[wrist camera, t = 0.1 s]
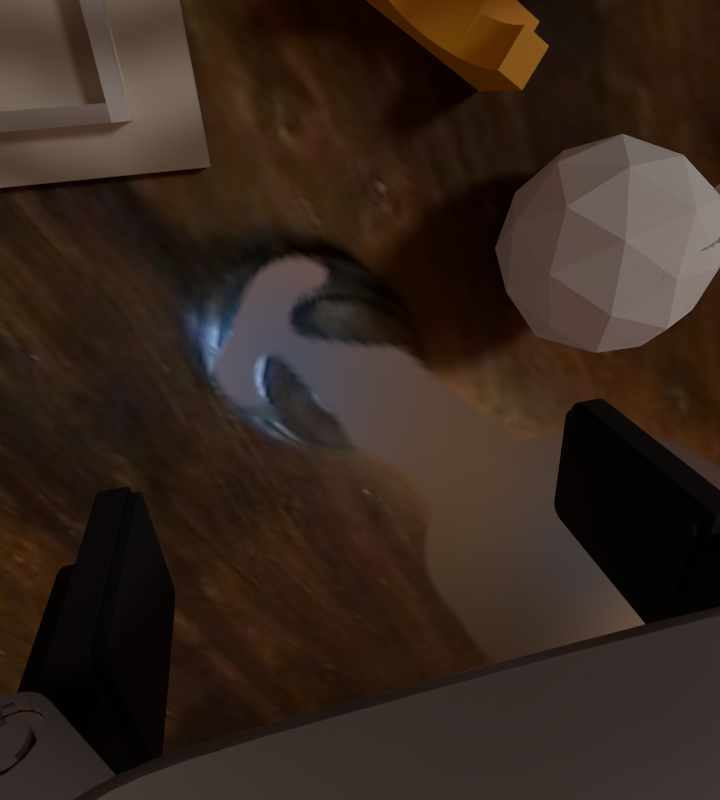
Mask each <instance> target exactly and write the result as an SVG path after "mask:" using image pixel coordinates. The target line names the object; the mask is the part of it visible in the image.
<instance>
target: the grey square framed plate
mask: <svg viewBox="0 0 720 800" xmlns="http://www.w3.org/2000/svg"><path fill="white" fill-rule="evenodd" d="M206 167H211V164H210V159H209V154H208V148H207V143H206V138H205V133H204V127H203V122H202V117H201V111H200V106H199V101H198V95H197V90H196V85H195V80H194V74H193V69H192V64H191V58H190V53H189V48H188V42H187V37H186V32H185V26H184V21H183V16H182V11H181V5H180V0H0V188H4V187H14V186H24V185H34V184H45V183H55V182H65V181H75V180H85V179H95V178H105V177H115V176H125V175H135V174H145V173H155V172H166V171H176V170H186V169H196V168H206Z"/></svg>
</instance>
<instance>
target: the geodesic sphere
mask: <svg viewBox="0 0 720 800" xmlns="http://www.w3.org/2000/svg"><path fill="white" fill-rule="evenodd" d="M495 250H496V254H497V258H498V262H499V266H500V270H501V274H502V277H503V281H504V285H505V289H506V292H507V294H508V295H509V297H510V298H511V300H512V301H513V303H514V304H515V306H516V307H517V309H518V310H519V312H520V313H521V315H522V316H523V317H524V319H525V320H526V322H527V323H528V325H529V326H530V328H531V329H532V331H533V332H534V334H535V335H536V336H537V337H541V338H544V339H548V340H552V341H555V342H559V343H563V344H566V345H570V346H574V347H577V348H581V349H584V350H588V351H592V352H595V353H597V352H604V351H611V350H618V349H624V348H631V347H638V346H641V345H643V344H645V343H646V342H648V341H649V340H651V339H652V338H654V337H655V336H657V335H659V334H660V333H662V332H663V331H665V330H666V329H668V328H669V327H670V326H672V325H673V324H674V323H676V322H677V321H678V320H680V319H681V318H682V317H683V316H685V315H686V314H687V313H689V312H690V311H691V310H692V309H693V308H694V306H695V305H696V303H697V302H698V300H699V299H700V297H701V295H702V294H703V292H704V291H705V289H706V288H707V286H708V285H709V283H710V281H711V280H712V278H713V277H714V275H715V274H716V272H717V271H718V269H719V264H720V184H719V185H718V186H717V187H716V188H715V189H714V188H713V187H712V186H711V185H710V184H709V183H708V181H707V180H706V179H705V178H704V177H703V176H702V175H701V174H700V173H699V172H698V171H697V169H696V168H695V167H694V166H693V165H692V164H691V163H690V162H689V161H688V160H687V158H686V157H685V156H684V155H682V154H679V153H676V152H673V151H670V150H667V149H664V148H661V147H659V146H656V145H653V144H650V143H647V142H644V141H641V140H638V139H636V138H633V137H630V136H627V135H624V134H621V135H617V136H613V137H610V138H606V139H603V140H599V141H596V142H592V143H589V144H585V145H582V146H578V147H575V148H571V149H568V150H564V151H562V152H561V153H560V154H559V155H558V156H557V157H555V158H554V159H553V160H552V161H551V162H550V163H549V164H547V165H546V166H545V167H544V168H543V169H542V170H540V171H539V172H538V173H537V174H536V175H535V176H534V177H532V178H531V179H530V180H529V181H528V182H527V183H525V184H524V185H523V186H522V187H521V188H520V189H519V190H517V191H516V192H515V194H514V197H513V200H512V203H511V205H510V208H509V211H508V214H507V216H506V219H505V222H504V225H503V227H502V230H501V233H500V236H499V238H498V241H497V244H496V247H495Z"/></svg>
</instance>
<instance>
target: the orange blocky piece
mask: <svg viewBox="0 0 720 800" xmlns="http://www.w3.org/2000/svg"><path fill="white" fill-rule="evenodd" d="M366 1H367V2H368V3H369V4H371V5H372V6H373V7H374V8H376V9H377V10H378V11H379V12H381V13H382V14H383V15H384V16H386V17H387V18H388V19H389V20H391V21H392V22H393V23H394V24H396V25H397V26H398V27H399V28H401V29H402V30H403V31H404V32H405V33H407V34H408V35H409V36H410V37H412V38H413V39H414V40H415V41H417V42H418V43H419V44H420V45H422V46H423V47H424V48H425V49H427V50H428V51H429V52H430V53H432V54H433V55H434V56H435V57H437V58H438V59H439V60H440V61H442V62H443V63H444V64H445V65H447V66H448V67H449V68H450V69H452V70H453V71H454V72H455V73H457V74H458V75H459V76H460V77H462V78H463V79H464V80H465V81H467V82H468V83H469V84H470V85H472V86H473V87H474V88H475V89H477V90H478V91H511V90H523V88H524V86H525V85H526V83H527V81H528V80H529V78H530V76H531V75H532V73H533V72H534V70H535V68H536V67H537V65H538V63H539V62H540V60H541V58H542V57H543V55H544V54H545V52H546V50H547V49H548V47H549V46H548V45H547V44H546V43H545V42H544V41H543V40H542V39H541V38H540V37H539V36H538V35H536V34H535V33H534V30H535V28H536V27H537V25H538V23H539V21H538V20H537V19H536V18H535V17H534V16H533V15H532V14H531V13H530V12H529V11H528V10H527V9H526V8H524V7H523V6H522V5H521V4H520V3H519V2H518V1H517V0H366Z"/></svg>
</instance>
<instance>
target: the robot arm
mask: <svg viewBox="0 0 720 800" xmlns="http://www.w3.org/2000/svg"><path fill="white" fill-rule="evenodd" d="M554 502H555V503H554V505H555V510H556V513H557V515H558V517H559V518H560V520H561V521H562V522H563V523H564V524H565V526H566V527H567V528H568V529H569V531H570V532H571V533H572V534H573V535H574V537H575V538H576V539H577V540H578V541H579V543H580V544H581V545H582V547H583V548H584V549H585V550H586V551H587V553H588V554H589V555H590V556H591V557H592V559H593V560H594V561H595V563H596V564H597V565H598V566H599V567H600V568H601V570H602V571H603V572H604V573H605V575H606V576H607V577H608V578H609V580H610V581H611V582H612V583H613V584H614V586H615V587H616V588H617V590H618V591H619V592H620V593H621V594H622V596H623V597H624V598H625V599H626V600H627V602H628V603H629V604H630V605H631V607H632V608H633V609H634V610H635V612H636V613H637V614H638V615H639V616H640V618H641V619H642V620H643V621H644V623H645V625H642V626H638V627H634V628H630V629H626V630H622V631H618V632H614V633H610V634H607V635H603V636H599V637H595V638H591V639H587V640H583V641H580V642H575V643H571V644H567V645H564V646H560V647H556V648H552V649H549V650H544V651H541V652H537V653H533V654H529V655H525V656H521V657H518V658H514V659H510V660H506V661H502V662H498V663H495V664H491V665H487V666H483V667H479V668H476V669H472V670H468V671H464V672H460V673H457V674H453V675H449V676H445V677H441V678H438V679H434V680H430V681H426V682H423V683H419V684H415V685H411V686H408V687H404V688H400V689H396V690H393V691H389V692H385V693H381V694H378V695H374V696H370V697H367V698H363V699H359V700H355V701H352V702H348V703H344V704H340V705H337V706H333V707H329V708H326V709H322V710H318V711H314V712H311V713H307V714H303V715H300V716H296V717H292V718H288V719H285V720H281V721H278V722H274V723H271V724H267V725H264V726H260V727H257V728H253V729H250V730H247V731H243V732H240V733H236V734H233V735H229V736H226V737H222V738H219V739H215V740H212V741H208V742H205V743H201V744H198V745H195V746H192V747H189V748H186V749H183V750H180V751H177V752H174V753H171V754H168V755H165V756H162V752H163V740H164V728H165V716H166V704H167V693H168V681H169V669H170V657H171V645H172V634H173V622H174V610H175V592H174V587H173V583H172V580H171V577H170V574H169V571H168V568H167V565H166V563H165V560H164V557H163V554H162V551H161V548H160V545H159V542H158V539H157V536H156V533H155V530H154V527H153V524H152V521H151V518H150V515H149V512H148V509H147V506H146V504H145V501H144V498H143V495H142V493H141V492H135V493H132V491H131V489H130V488H129V487H123V488H117V489H112V490H107V491H101V492H98V493H97V495H96V497H95V501H94V504H93V507H92V511H91V514H90V517H89V520H88V524H87V527H86V530H85V533H84V537H83V540H82V543H81V546H80V550H79V553H78V556H77V559H76V563H75V564H74V565H69V566H64V567H63V568H61V569H60V570H59V572H58V574H57V576H56V579H55V582H54V585H53V588H52V591H51V594H50V597H49V600H48V603H47V606H46V609H45V612H44V615H43V618H42V621H41V624H40V627H39V630H38V633H37V636H36V639H35V641H34V644H33V647H32V650H31V653H30V656H29V659H28V662H27V665H26V668H25V671H24V674H23V677H22V680H21V683H20V686H19V689H18V692H17V693H15V694H10V695H8V696H5V697H3V698H1V699H0V800H720V490H719V489H718V488H716V487H715V486H714V485H712V484H711V483H710V482H708V481H707V480H706V479H705V478H704V477H702V476H701V475H700V474H698V473H697V472H696V471H695V470H693V469H692V468H691V467H689V466H688V465H687V464H686V463H684V462H683V461H682V460H680V459H679V458H678V457H677V456H675V455H674V454H673V453H671V452H670V451H669V450H668V449H666V448H665V447H664V446H662V445H661V444H660V443H658V442H657V441H656V440H655V439H654V438H652V437H651V436H650V435H648V434H647V433H646V432H645V431H643V430H642V429H641V428H639V427H638V426H637V425H636V424H634V423H633V422H632V421H630V420H629V419H628V418H627V417H625V416H624V415H623V414H621V413H620V412H619V411H618V410H616V409H615V408H614V407H613V406H611V405H610V404H609V403H607V402H606V401H605V400H603V399H594V400H589V401H584V402H578V403H576V404H574V406H573V407H572V410H570V411H568V413H567V414H566V419H565V427H564V434H563V442H562V449H561V457H560V464H559V471H558V479H557V486H556V494H555V501H554Z"/></svg>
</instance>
